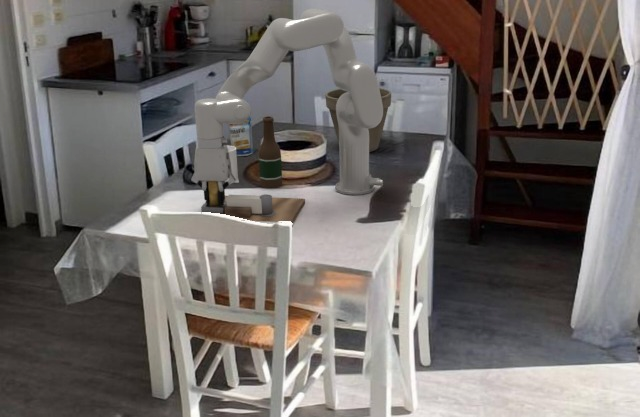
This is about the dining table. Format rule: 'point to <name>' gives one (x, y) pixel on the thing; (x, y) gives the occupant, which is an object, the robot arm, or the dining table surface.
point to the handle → (252, 202)
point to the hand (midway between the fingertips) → (215, 201)
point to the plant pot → (373, 132)
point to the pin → (213, 193)
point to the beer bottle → (269, 157)
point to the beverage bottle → (242, 137)
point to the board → (281, 212)
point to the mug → (233, 162)
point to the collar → (214, 208)
